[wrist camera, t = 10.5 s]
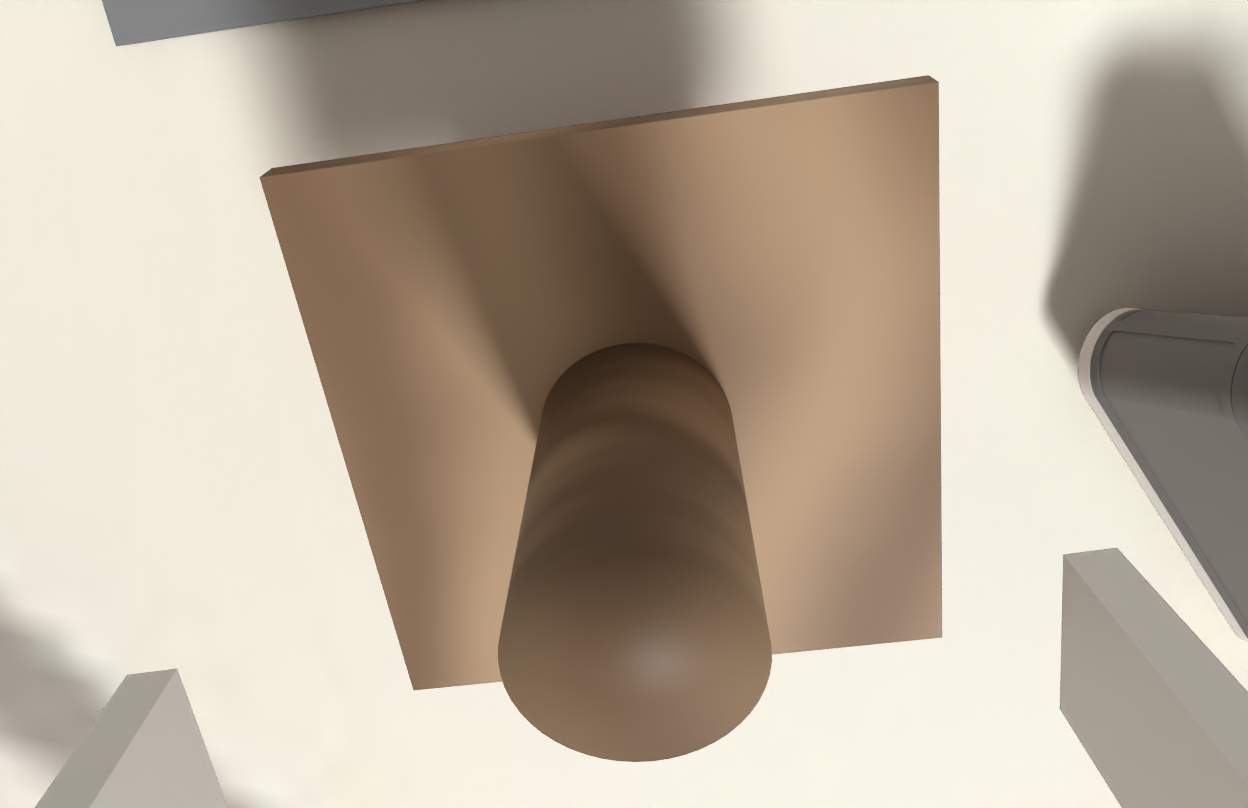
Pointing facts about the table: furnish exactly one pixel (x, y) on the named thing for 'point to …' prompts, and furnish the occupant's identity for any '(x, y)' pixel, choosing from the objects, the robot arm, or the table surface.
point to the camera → (1182, 432)
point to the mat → (212, 15)
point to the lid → (638, 398)
